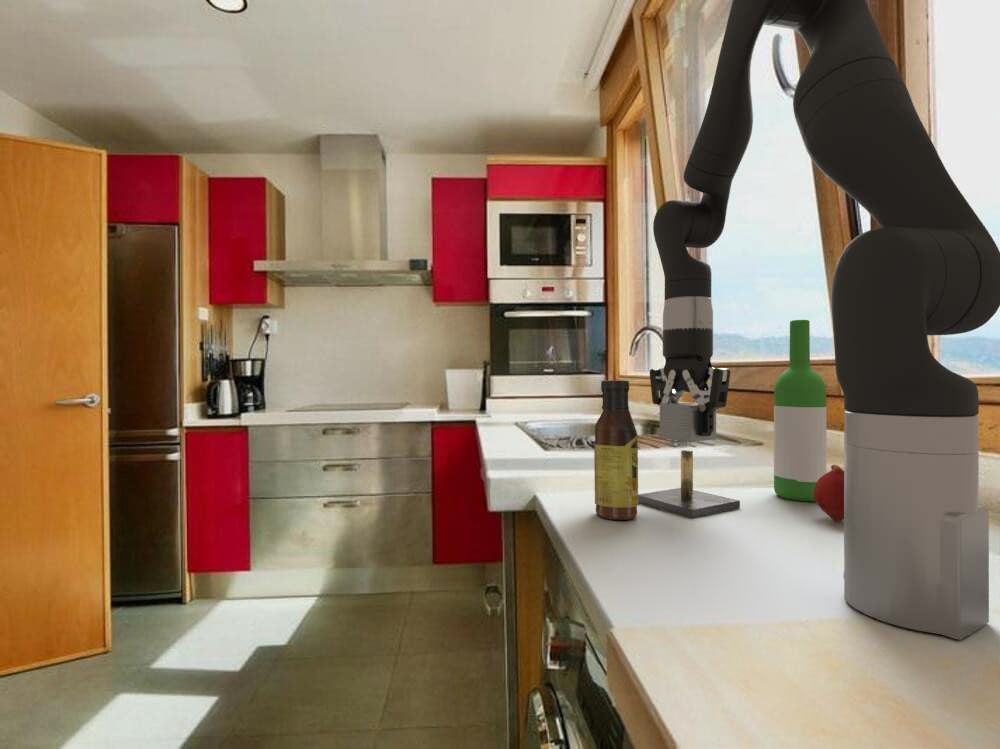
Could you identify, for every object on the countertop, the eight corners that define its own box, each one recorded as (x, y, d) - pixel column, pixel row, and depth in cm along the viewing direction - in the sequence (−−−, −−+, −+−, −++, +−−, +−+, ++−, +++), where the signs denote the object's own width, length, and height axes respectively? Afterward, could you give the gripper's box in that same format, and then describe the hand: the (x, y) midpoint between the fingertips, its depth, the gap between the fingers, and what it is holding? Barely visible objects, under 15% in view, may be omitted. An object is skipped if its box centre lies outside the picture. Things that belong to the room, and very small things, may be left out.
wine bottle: (784, 490, 94) (785, 323, 94) (833, 498, 88) (833, 320, 88) (765, 496, 89) (765, 320, 89) (815, 505, 83) (816, 316, 83)
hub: (739, 508, 81) (739, 452, 81) (692, 518, 75) (692, 458, 75) (682, 494, 90) (682, 444, 90) (636, 502, 85) (636, 449, 85)
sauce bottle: (643, 522, 73) (643, 380, 73) (598, 521, 73) (598, 380, 73) (632, 510, 80) (632, 380, 80) (591, 509, 80) (591, 379, 80)
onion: (848, 516, 76) (848, 461, 76) (872, 527, 71) (871, 468, 71) (806, 515, 77) (806, 461, 77) (826, 526, 71) (826, 467, 71)
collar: (716, 439, 82) (716, 404, 82) (690, 441, 79) (690, 405, 79) (684, 435, 87) (685, 402, 87) (659, 437, 84) (659, 403, 84)
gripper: (743, 325, 79) (743, 437, 79) (668, 332, 91) (667, 428, 91) (711, 323, 75) (710, 440, 75) (637, 330, 87) (636, 430, 87)
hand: (687, 433), depth 83 cm, fingers closed on collar, 6 cm apart
